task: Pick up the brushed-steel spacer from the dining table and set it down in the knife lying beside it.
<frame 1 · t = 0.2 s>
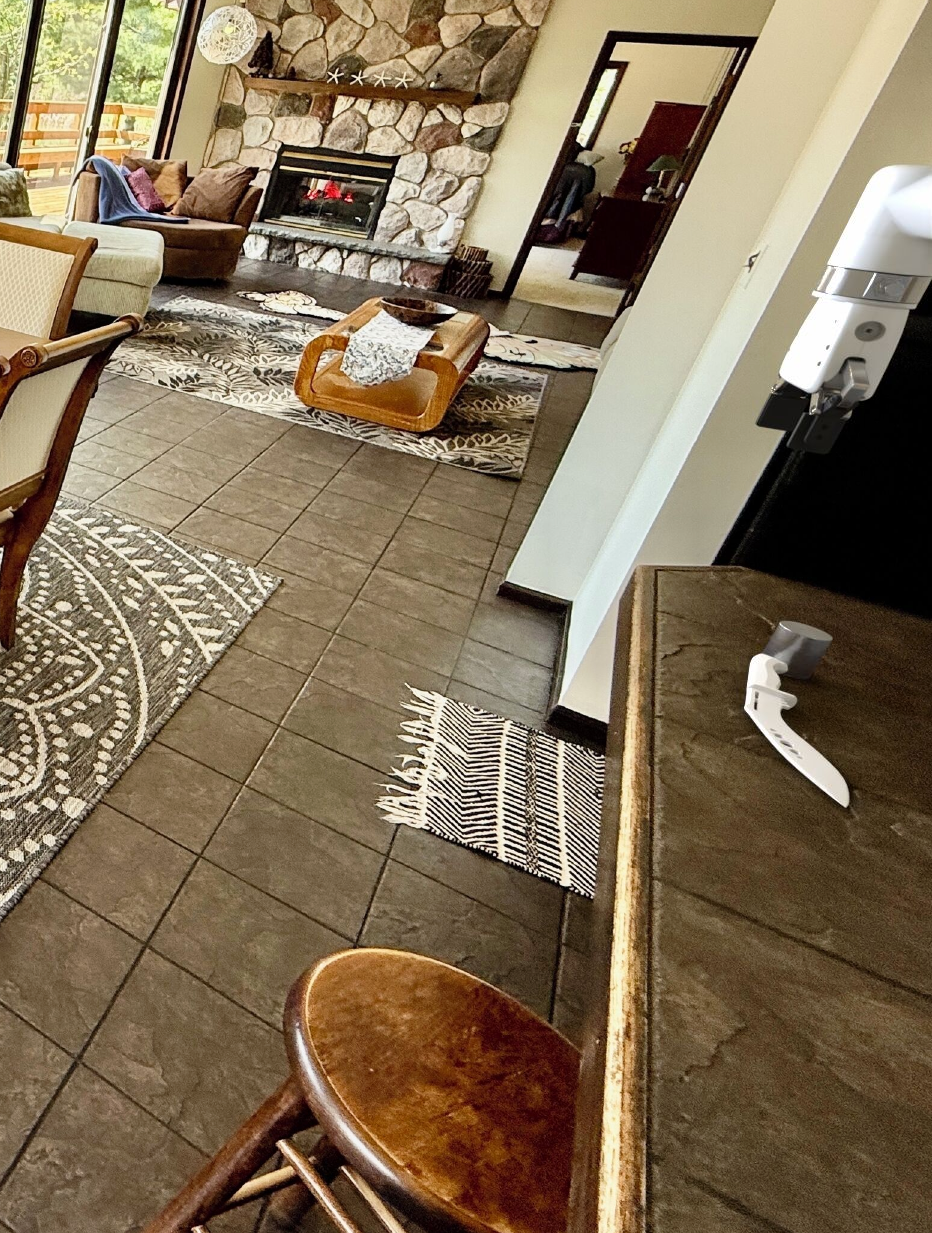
hand: (788, 439, 101), 28 cm above the countertop, tool pointing down, fingers open, 9 cm apart
steel spacer: (783, 669, 109), on the countertop
knife: (790, 728, 97), on the countertop
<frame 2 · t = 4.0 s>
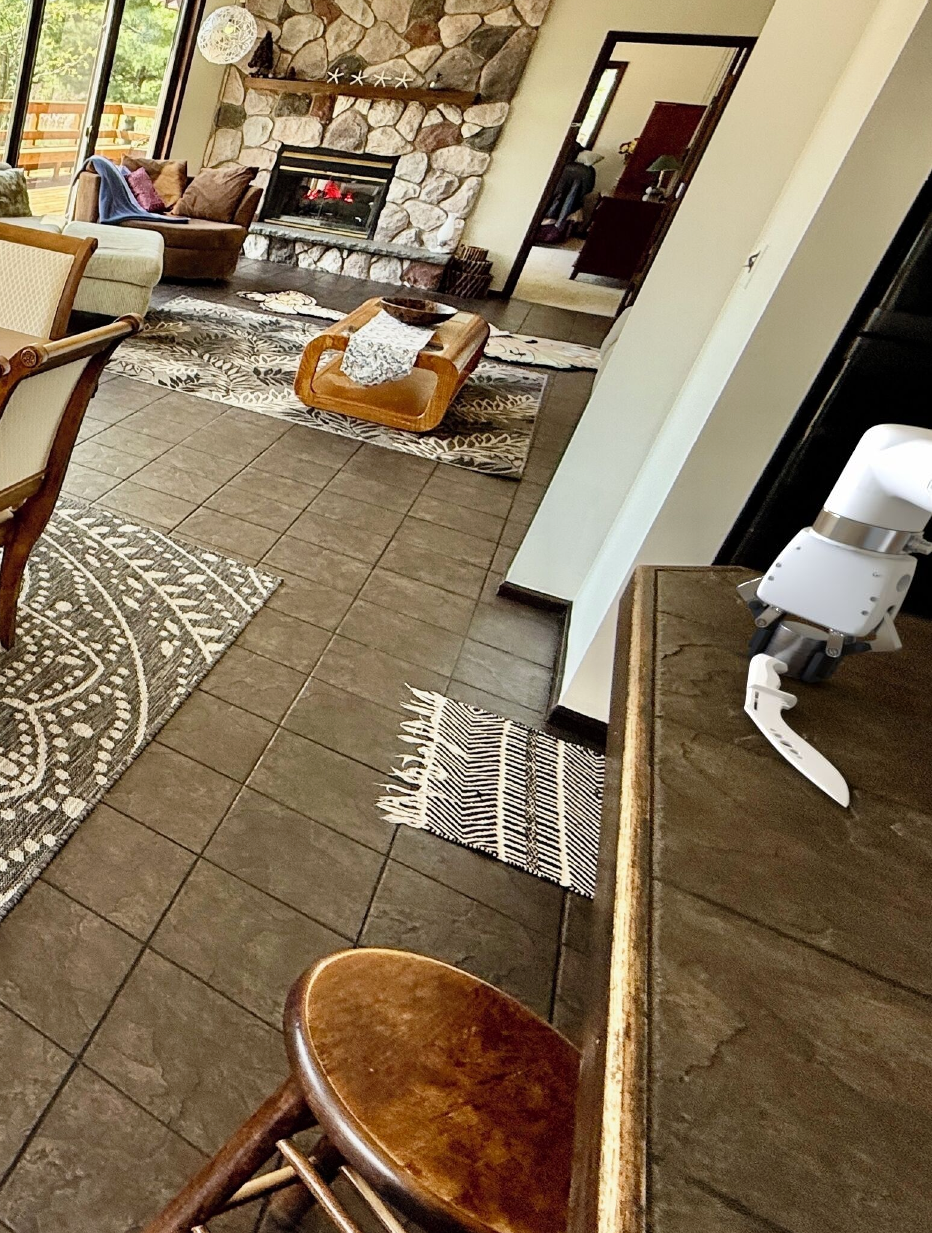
hand: (784, 666, 108), 0 cm above the countertop, tool pointing down, fingers closed on steel spacer, 4 cm apart
steel spacer: (783, 669, 109), on the countertop, touching gripper
everything else where it was.
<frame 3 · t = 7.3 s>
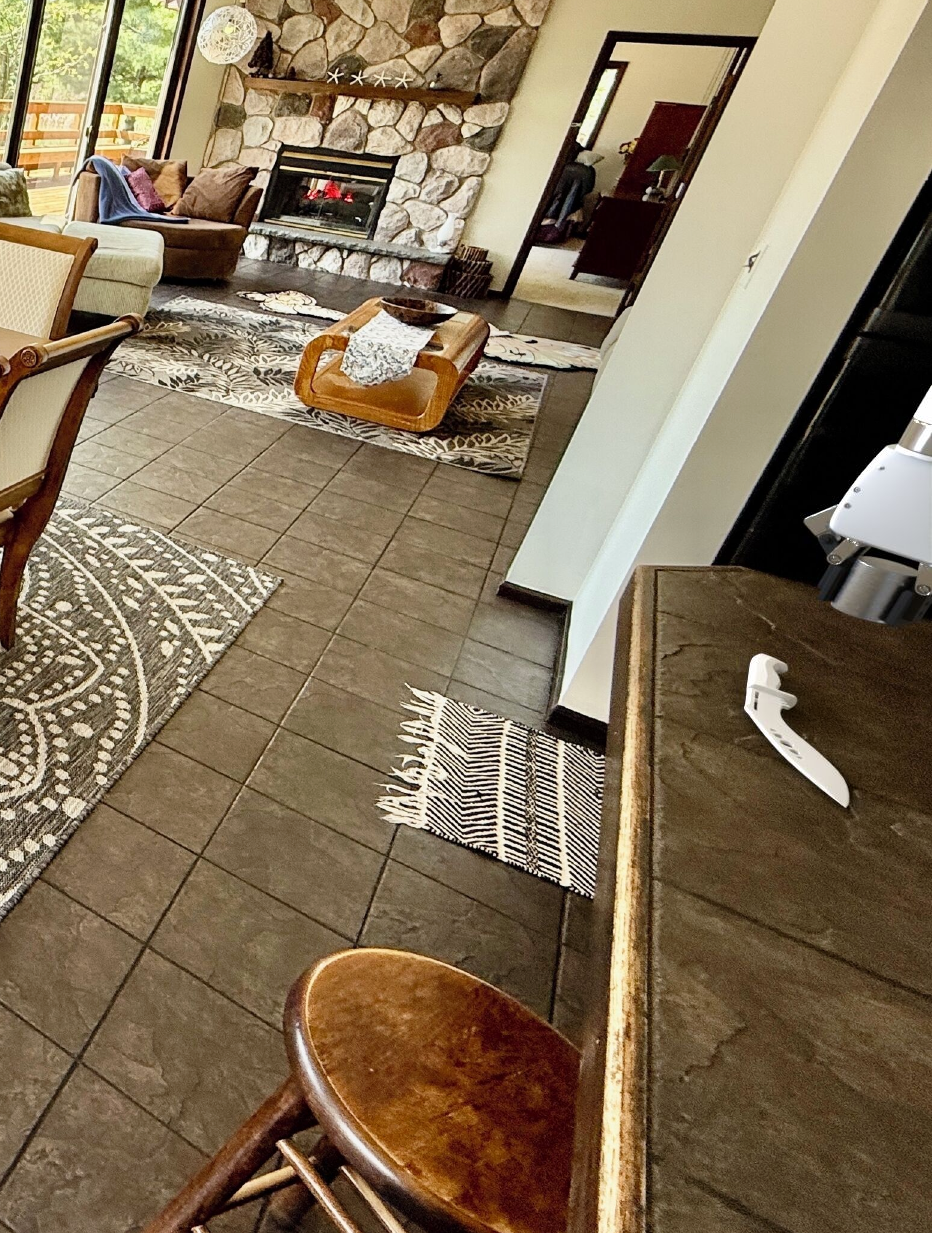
hand: (862, 609, 93), 14 cm above the countertop, tool pointing down, fingers closed on steel spacer, 4 cm apart
steel spacer: (861, 612, 93), point 14 cm above the countertop, touching gripper
everything else where it was.
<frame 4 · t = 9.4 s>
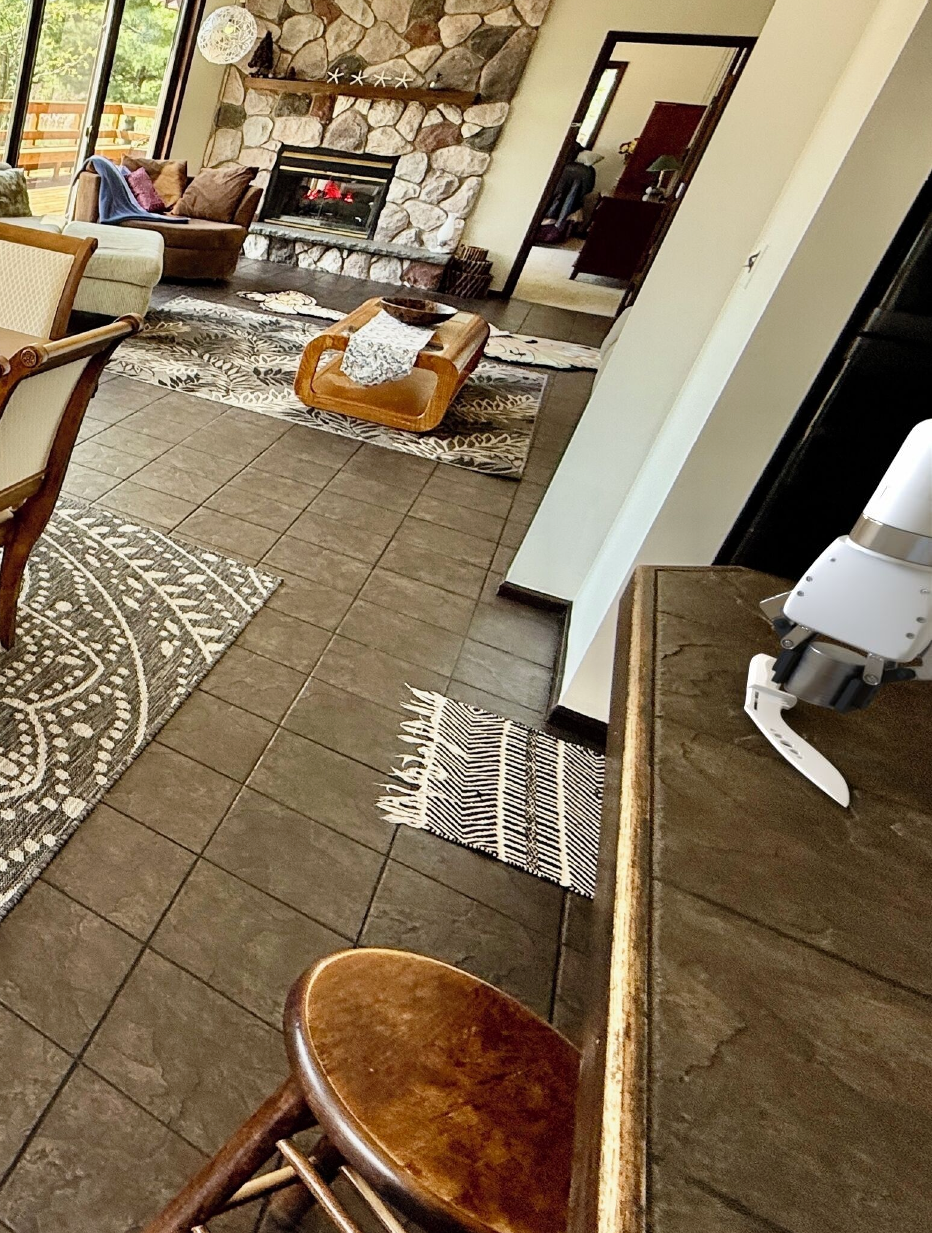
hand: (814, 693, 95), 4 cm above the countertop, tool pointing down, fingers closed on steel spacer, 4 cm apart
steel spacer: (812, 696, 96), point 4 cm above the countertop, touching gripper
everything else where it was.
when the fingers open (1 cm above the countertop, at t = 10.9 s): steel spacer stays where it is, resting on knife.
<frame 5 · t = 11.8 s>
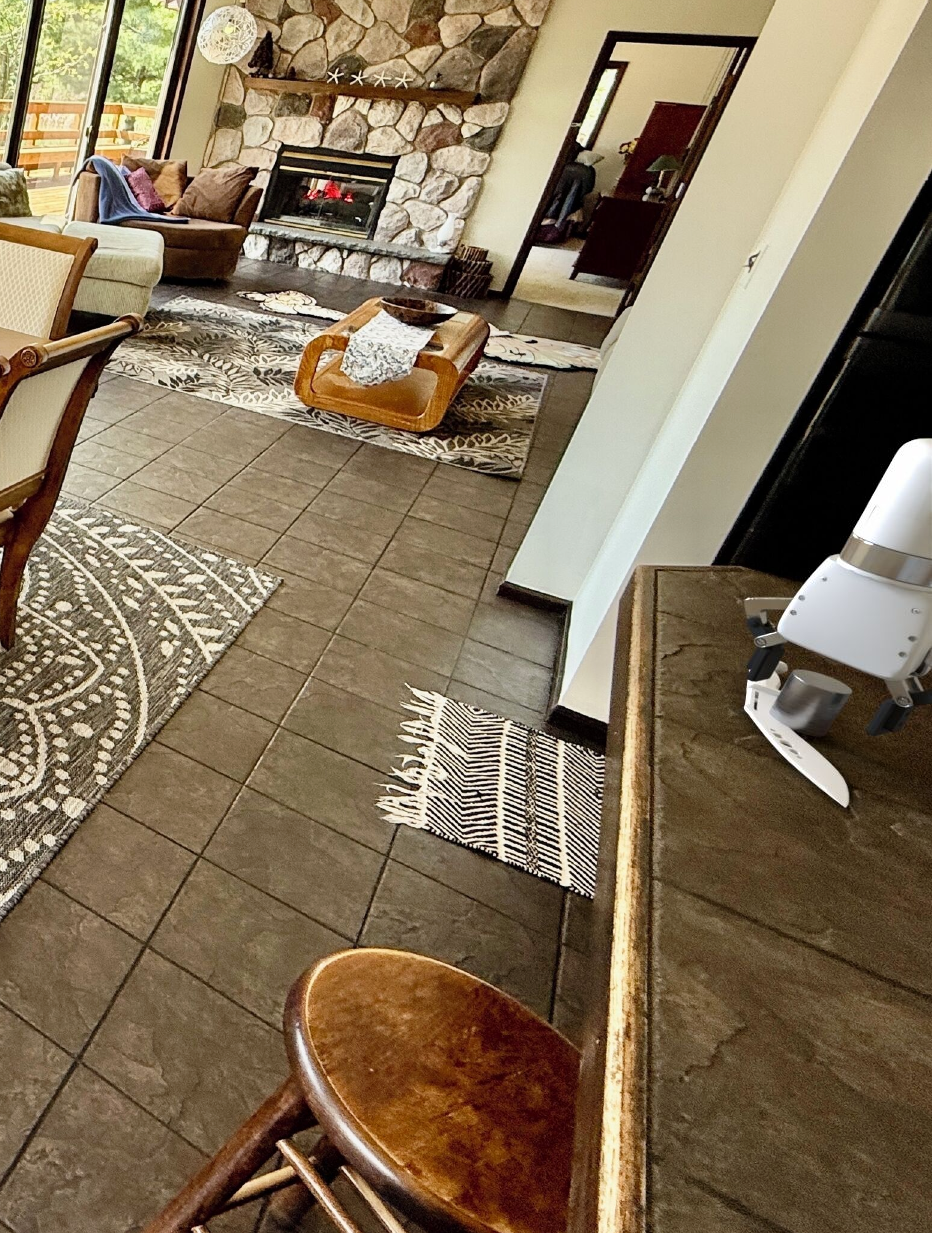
hand: (814, 704, 96), 3 cm above the countertop, tool pointing down, fingers open, 9 cm apart
steel spacer: (796, 723, 97), resting on knife
knife: (790, 728, 97), on the countertop, touching steel spacer
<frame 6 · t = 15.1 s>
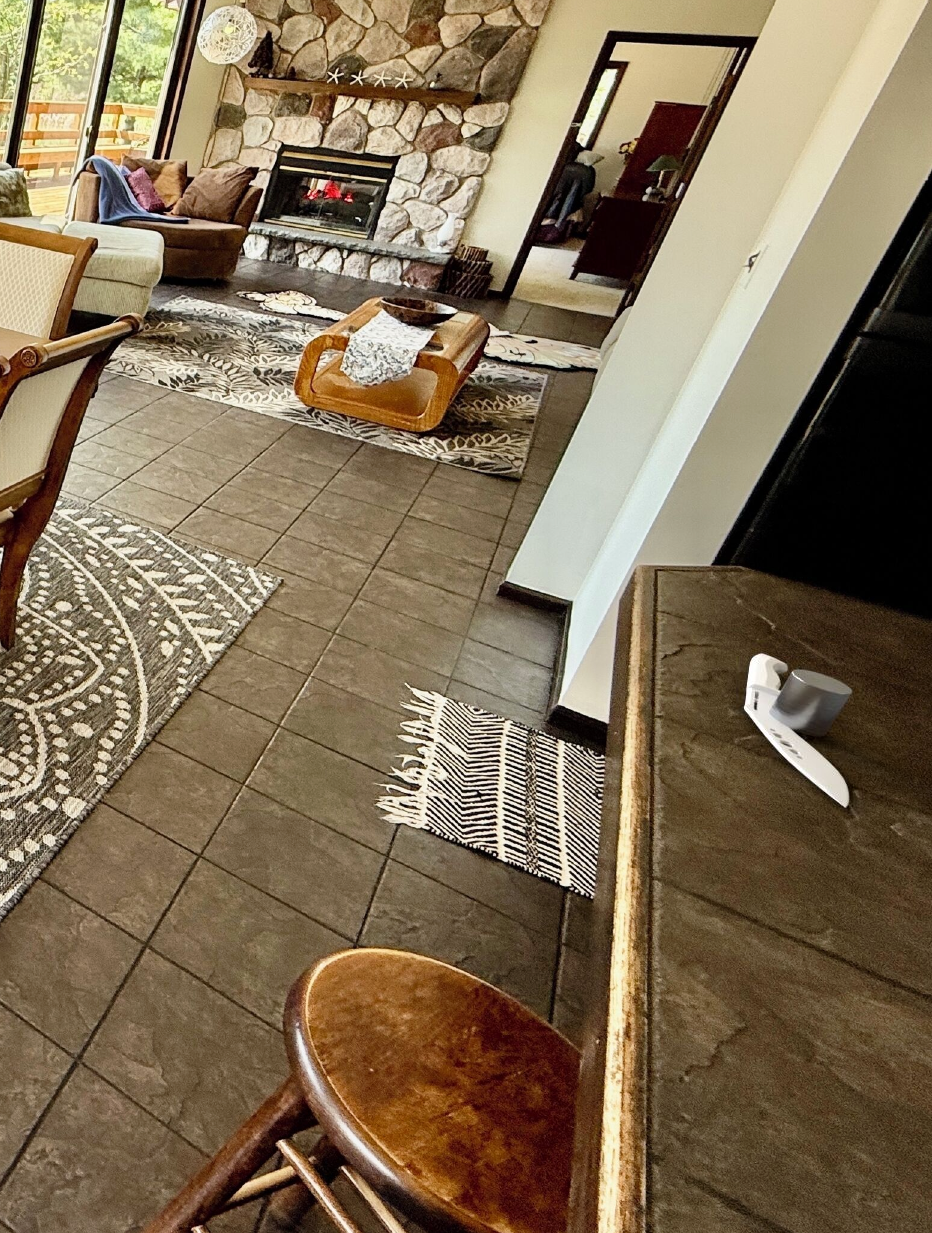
nothing on the countertop moved.
at the end: steel spacer touching knife; steel spacer 0.3 cm from the knife (horizontally); steel spacer tilted 0° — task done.
